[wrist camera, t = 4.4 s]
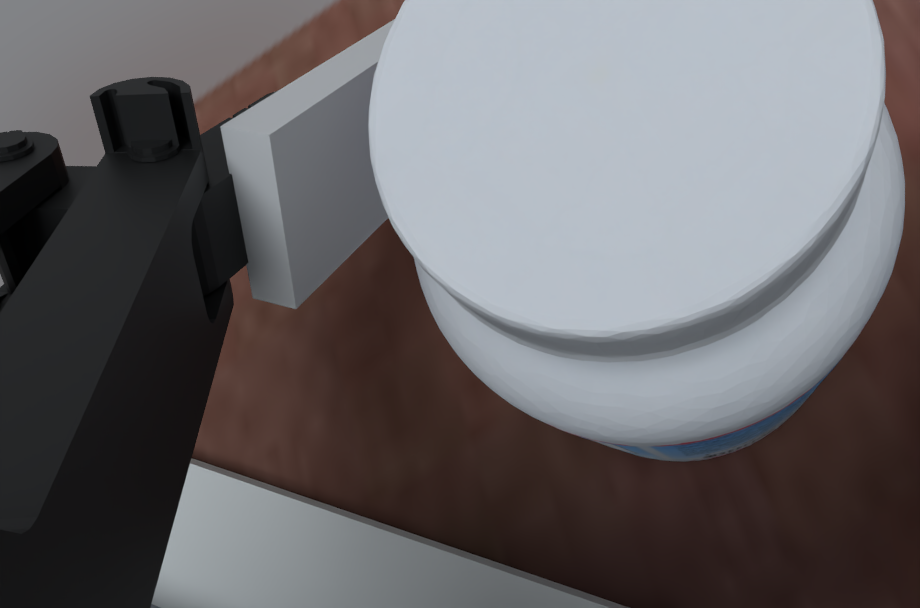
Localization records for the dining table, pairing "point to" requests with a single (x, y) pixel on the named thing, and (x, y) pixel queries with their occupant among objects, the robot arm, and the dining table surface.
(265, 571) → the panel
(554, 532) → the dining table surface
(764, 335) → the pill bottle
